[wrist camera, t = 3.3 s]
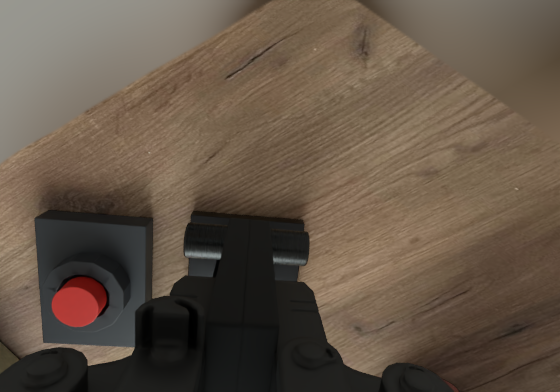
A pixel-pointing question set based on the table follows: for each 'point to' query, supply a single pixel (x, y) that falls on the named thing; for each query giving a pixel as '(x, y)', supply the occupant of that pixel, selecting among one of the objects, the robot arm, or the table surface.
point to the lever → (211, 237)
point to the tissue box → (6, 358)
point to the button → (79, 301)
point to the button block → (95, 271)
